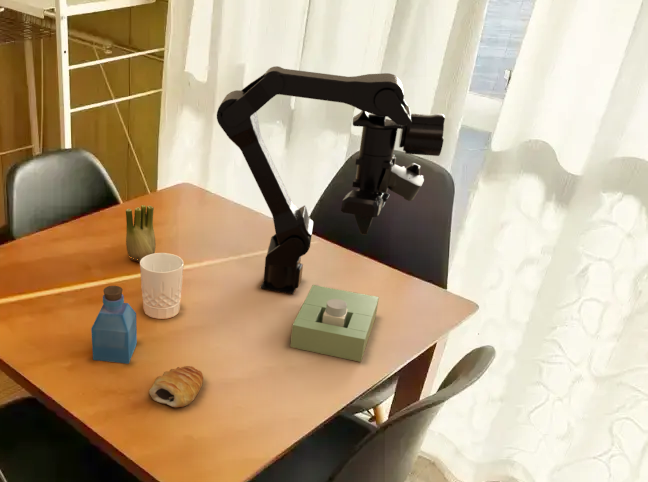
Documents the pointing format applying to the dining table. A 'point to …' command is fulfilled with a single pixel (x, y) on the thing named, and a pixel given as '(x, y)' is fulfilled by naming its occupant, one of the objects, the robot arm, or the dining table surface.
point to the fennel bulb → (140, 233)
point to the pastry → (177, 386)
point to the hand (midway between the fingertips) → (363, 233)
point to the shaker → (335, 313)
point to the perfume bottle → (114, 328)
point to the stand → (329, 337)
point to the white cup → (161, 284)
